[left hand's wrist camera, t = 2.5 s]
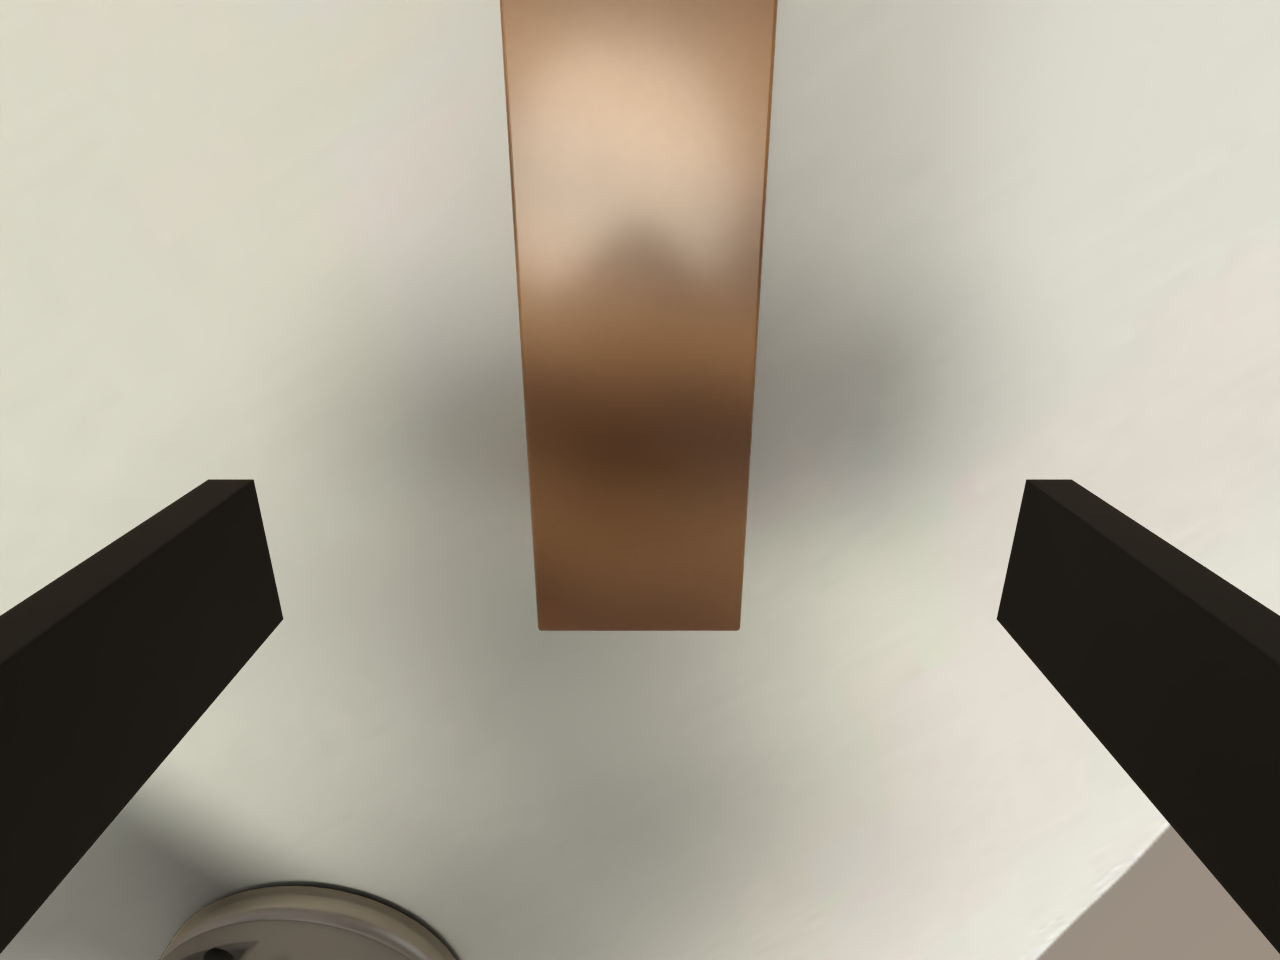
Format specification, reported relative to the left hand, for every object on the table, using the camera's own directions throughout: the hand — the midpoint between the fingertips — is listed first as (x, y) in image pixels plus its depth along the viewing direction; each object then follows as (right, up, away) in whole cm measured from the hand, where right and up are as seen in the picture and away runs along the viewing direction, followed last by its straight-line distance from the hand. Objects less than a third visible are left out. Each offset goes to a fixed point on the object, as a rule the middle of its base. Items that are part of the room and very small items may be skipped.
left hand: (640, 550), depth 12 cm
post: (0, +26, +4) cm, 26 cm away
